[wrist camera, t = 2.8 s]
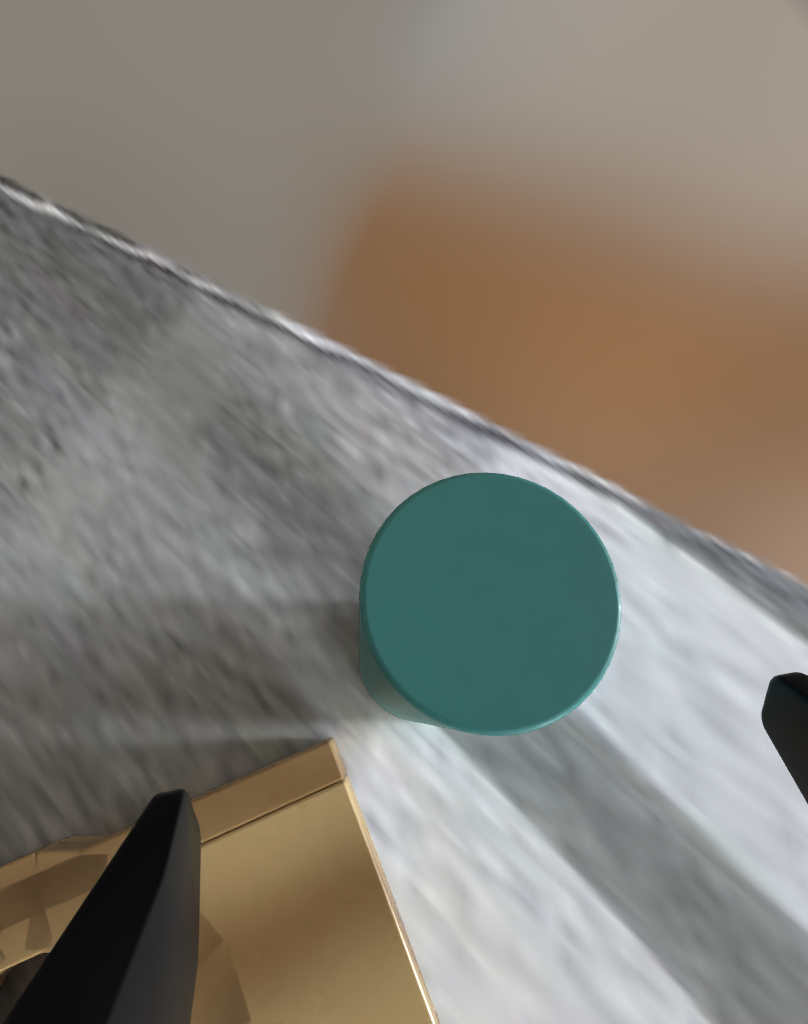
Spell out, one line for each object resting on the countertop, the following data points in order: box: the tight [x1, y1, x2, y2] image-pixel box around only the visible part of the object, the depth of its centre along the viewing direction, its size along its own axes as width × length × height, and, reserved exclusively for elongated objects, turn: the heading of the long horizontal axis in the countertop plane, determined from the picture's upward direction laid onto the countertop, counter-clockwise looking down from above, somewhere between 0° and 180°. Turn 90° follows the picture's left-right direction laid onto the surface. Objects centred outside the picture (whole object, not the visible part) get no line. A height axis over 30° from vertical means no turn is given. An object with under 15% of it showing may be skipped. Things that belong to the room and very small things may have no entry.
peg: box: [359, 473, 621, 736], centre depth 13 cm, size 3×3×11 cm
